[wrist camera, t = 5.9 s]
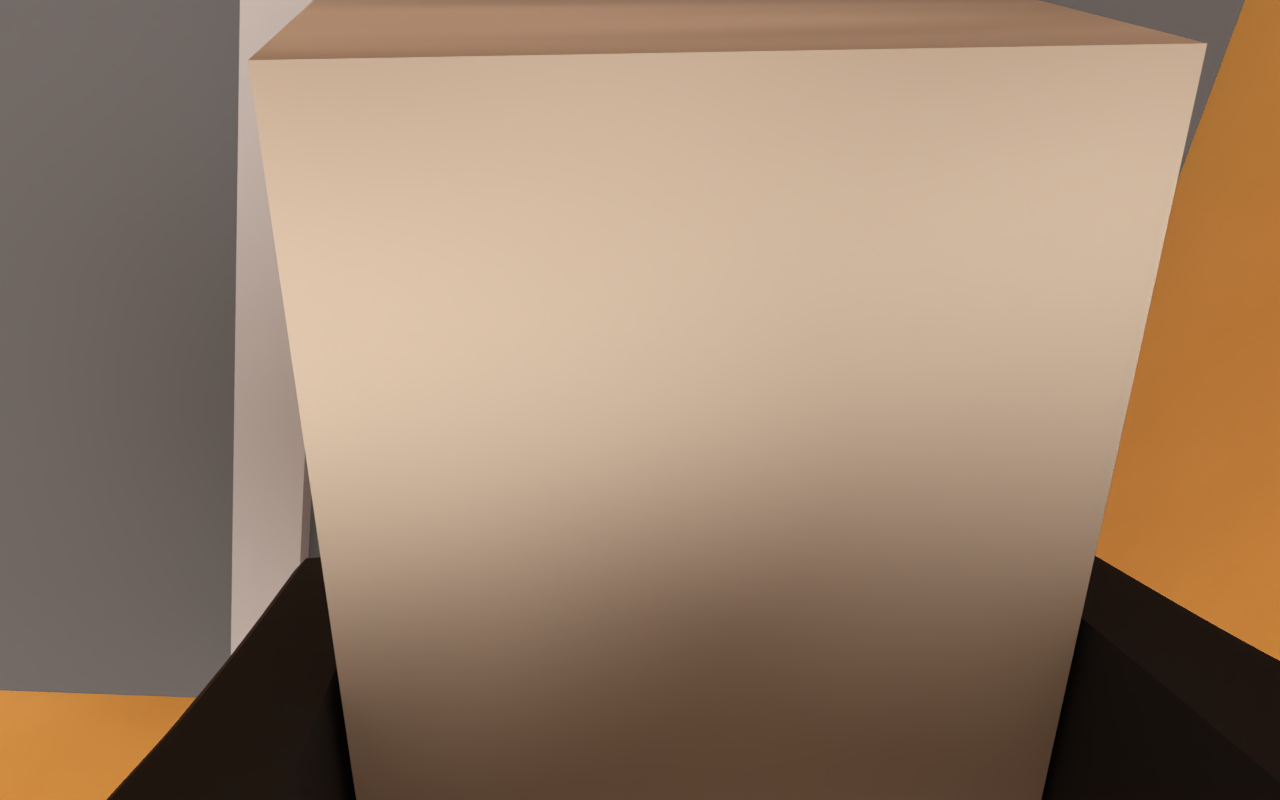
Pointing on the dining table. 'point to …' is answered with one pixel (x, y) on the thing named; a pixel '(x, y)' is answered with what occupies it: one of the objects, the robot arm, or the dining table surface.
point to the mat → (173, 337)
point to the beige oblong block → (713, 379)
